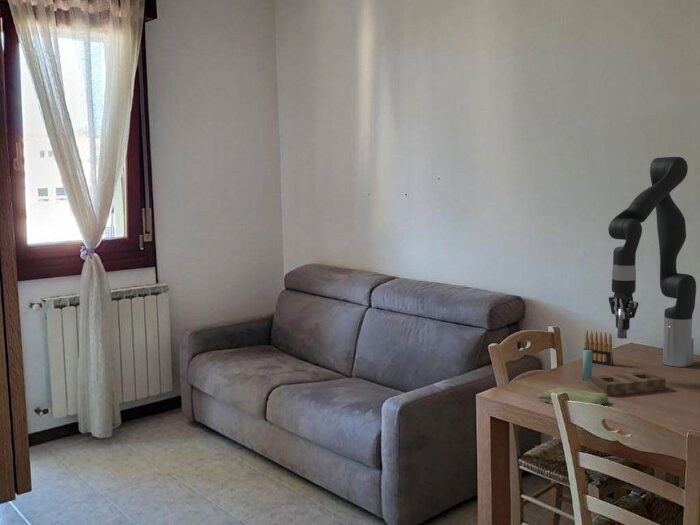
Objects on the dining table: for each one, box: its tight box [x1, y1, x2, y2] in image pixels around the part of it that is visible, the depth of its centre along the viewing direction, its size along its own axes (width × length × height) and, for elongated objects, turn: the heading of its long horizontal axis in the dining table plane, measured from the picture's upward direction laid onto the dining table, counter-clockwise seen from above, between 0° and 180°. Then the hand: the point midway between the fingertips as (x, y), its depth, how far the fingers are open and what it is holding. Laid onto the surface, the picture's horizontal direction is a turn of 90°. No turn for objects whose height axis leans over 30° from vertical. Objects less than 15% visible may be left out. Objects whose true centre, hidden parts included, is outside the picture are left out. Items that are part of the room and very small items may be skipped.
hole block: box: [587, 370, 667, 397], centre depth 234 cm, size 22×10×4 cm, turn 105°
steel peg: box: [617, 308, 628, 340], centre depth 244 cm, size 3×3×10 cm
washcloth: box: [538, 387, 609, 405], centre depth 221 cm, size 13×18×3 cm
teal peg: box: [582, 349, 593, 382], centre depth 244 cm, size 3×3×10 cm
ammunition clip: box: [583, 329, 614, 367], centre depth 265 cm, size 11×2×12 cm, turn 48°
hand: (622, 328), depth 244 cm, fingers closed on steel peg, 3 cm apart
